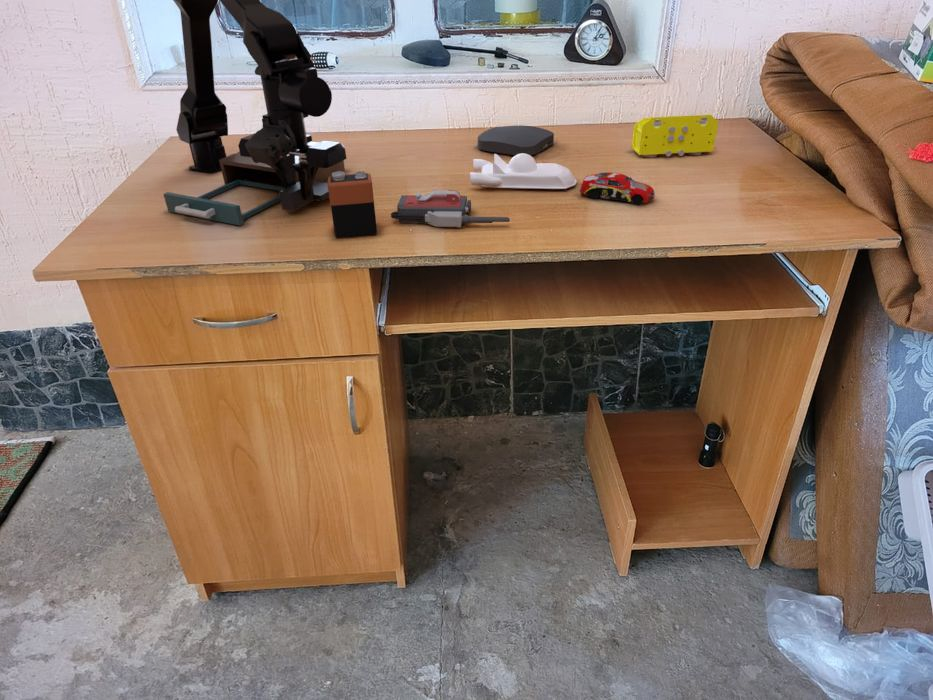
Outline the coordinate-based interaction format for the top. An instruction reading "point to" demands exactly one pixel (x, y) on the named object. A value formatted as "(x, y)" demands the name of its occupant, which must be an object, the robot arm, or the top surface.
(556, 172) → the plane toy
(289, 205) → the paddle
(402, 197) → the walkie-talkie
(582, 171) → the top surface
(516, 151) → the media streaming box
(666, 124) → the yellow toy chassis
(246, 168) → the drawer unit
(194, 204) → the drawer
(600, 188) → the race car
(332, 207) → the battery
